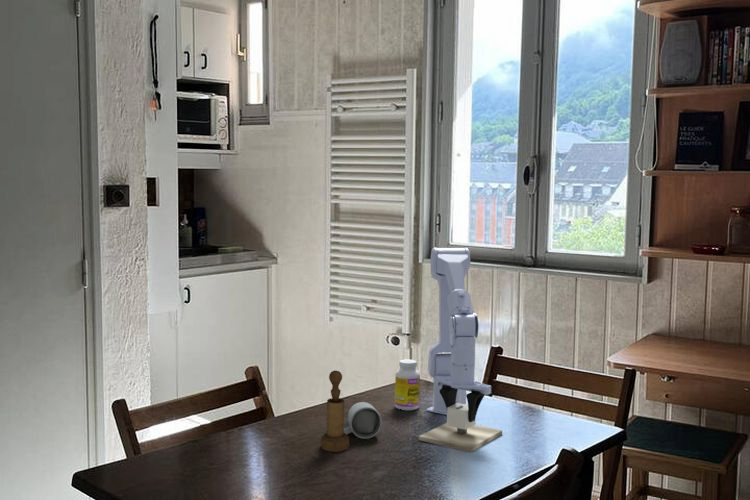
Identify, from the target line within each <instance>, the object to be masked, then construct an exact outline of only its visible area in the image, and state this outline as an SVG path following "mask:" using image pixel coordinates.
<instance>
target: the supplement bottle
mask: <svg viewBox="0 0 750 500" xmlns="http://www.w3.org/2000/svg"><path fill="white" fill-rule="evenodd" d="M417 363H418V361H416V360H415V359H411V358H410V359H401V360H399V369H397V370H396V371H395V380H394V381H395V382H394V384H395V385H394V387H395V388H394V389H395V390H394V406H395V408H396V409H399V410H400V409H401V411H414V410H418V409H419V408H420V393H421V392H420V391H421V390H420V388H421V383H420V382H421V374H420V371H419V370H418V369H417V368H416V367H417V366H418V364H417Z"/></svg>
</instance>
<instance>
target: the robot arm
mask: <svg viewBox="0 0 750 500" xmlns="http://www.w3.org/2000/svg"><path fill="white" fill-rule="evenodd" d="M470 267H471V251H470V250H469V248H468V247H433V248H431V251H430V275H431V278H433V279H434V280H437V284H438V293H439V294H438V299H439V300H438V301H439V302H438V304H439V305H438V309H439V310H438V311H439V312H438V316H439V318H438V319H439V320H438V323H439V324H438V325H439V326H438V328H439V329H438V330H439V331H438V333H439V335H438V337H439V338H438V341H437V342H436V343H435V344H433V345H432V346H430V348H429V350H428V359H427V360H428V361H427V369H428V374H429V376H430V377H431V378H433V390H432V391H433V395H432V396H433V398H432V399H433V400H432V401H433V402H432V406H431V407H427V408H426V411H427V412H431V413H436V414H441V415H445V416H447V407H450V406H452V405H454V404H456V403H461V404H466V405H468V420H469V422H473V421H475V422H476V417H477V414H478V410H479V407H480V406H481V405H480V404H481V403H482V401H483V399H484V397H485V396H488V395H490V394H492V385H490V384H485V383H484V382H483V383H482V382H480V381H477V380H475V376H476V375H475V373H476V372H475V369H476V339H477V338H478V337H479V329H480V328H479V327H480V326H479V318H478V314H477V313H476V311H475V310H474V308H473V304H472V298H471V294H470V293H469V292H468V291H467V290H466V289H465V278H466V277H465V276H466V275H467V274H468V271H469V270H470ZM467 391H468V392H469V393H467Z"/></svg>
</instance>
